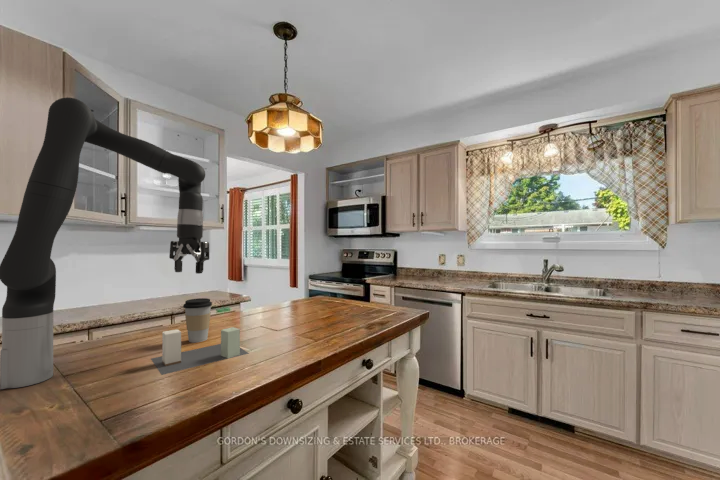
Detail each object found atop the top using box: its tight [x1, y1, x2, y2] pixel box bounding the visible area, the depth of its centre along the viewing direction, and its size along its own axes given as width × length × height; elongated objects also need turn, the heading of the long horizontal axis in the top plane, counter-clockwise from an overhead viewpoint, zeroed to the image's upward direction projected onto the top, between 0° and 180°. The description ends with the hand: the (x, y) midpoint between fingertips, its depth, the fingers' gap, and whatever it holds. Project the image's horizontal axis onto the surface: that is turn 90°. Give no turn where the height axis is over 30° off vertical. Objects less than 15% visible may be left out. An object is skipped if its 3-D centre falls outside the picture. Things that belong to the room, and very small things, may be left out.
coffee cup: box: [182, 297, 213, 344], centre depth 114 cm, size 9×9×15 cm
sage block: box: [220, 326, 241, 359], centre depth 99 cm, size 4×4×8 cm
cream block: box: [161, 328, 182, 366], centre depth 93 cm, size 4×4×9 cm
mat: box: [150, 343, 250, 376], centre depth 98 cm, size 24×16×1 cm, turn 132°
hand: (188, 272), depth 105 cm, fingers open, 8 cm apart
